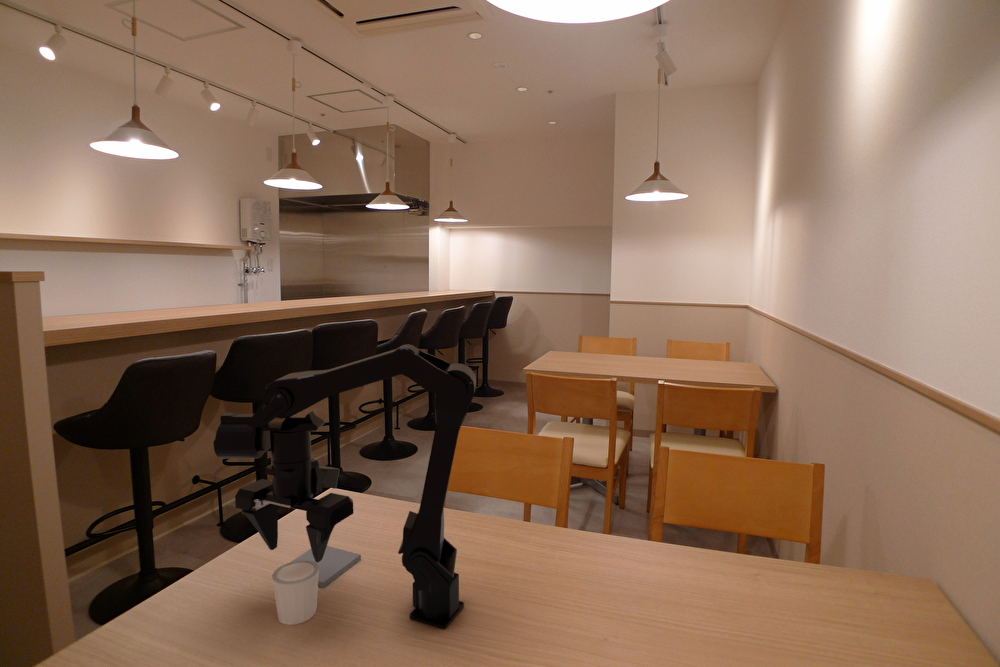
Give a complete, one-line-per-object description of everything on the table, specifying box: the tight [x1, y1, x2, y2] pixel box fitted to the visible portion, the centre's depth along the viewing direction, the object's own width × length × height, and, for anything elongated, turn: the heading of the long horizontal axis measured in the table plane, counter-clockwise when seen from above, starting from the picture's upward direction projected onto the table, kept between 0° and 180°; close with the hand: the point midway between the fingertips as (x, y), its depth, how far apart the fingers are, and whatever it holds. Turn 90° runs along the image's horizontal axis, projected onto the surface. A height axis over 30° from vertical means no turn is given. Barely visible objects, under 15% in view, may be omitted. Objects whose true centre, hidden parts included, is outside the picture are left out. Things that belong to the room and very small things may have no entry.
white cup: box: [271, 560, 319, 626], centre depth 84 cm, size 7×7×7 cm
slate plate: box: [290, 545, 362, 589], centre depth 98 cm, size 10×10×1 cm
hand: (295, 554), depth 83 cm, fingers open, 9 cm apart
